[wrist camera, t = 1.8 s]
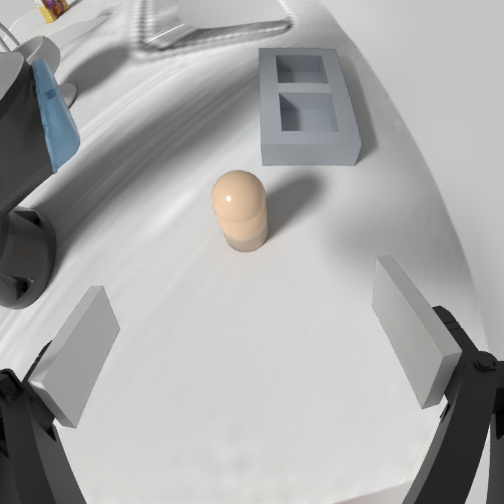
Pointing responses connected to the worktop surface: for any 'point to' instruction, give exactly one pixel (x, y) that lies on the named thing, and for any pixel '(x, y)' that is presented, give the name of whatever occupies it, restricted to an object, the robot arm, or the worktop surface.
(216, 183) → the peach dome-topped cylinder
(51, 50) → the chalice
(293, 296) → the worktop surface
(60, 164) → the robot arm
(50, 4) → the candy box
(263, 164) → the divided tray
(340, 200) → the worktop surface
